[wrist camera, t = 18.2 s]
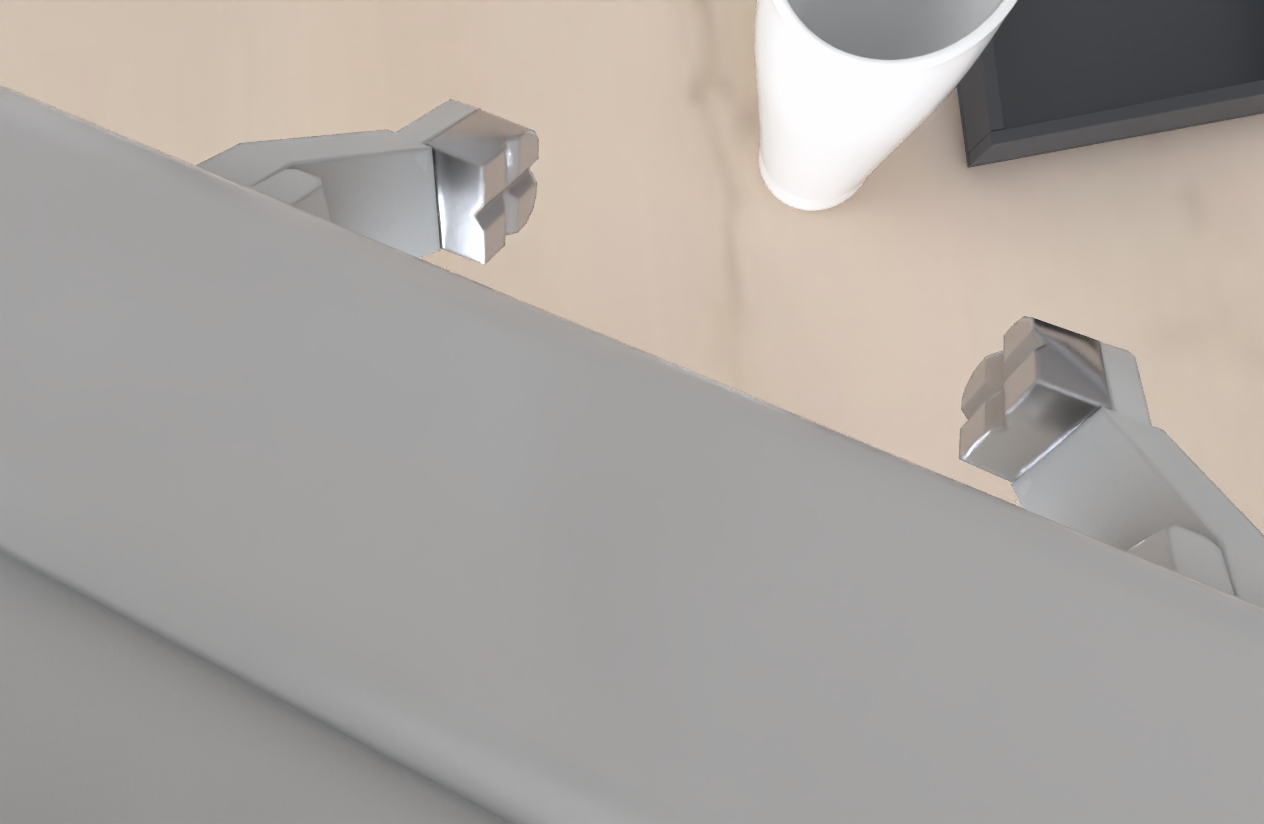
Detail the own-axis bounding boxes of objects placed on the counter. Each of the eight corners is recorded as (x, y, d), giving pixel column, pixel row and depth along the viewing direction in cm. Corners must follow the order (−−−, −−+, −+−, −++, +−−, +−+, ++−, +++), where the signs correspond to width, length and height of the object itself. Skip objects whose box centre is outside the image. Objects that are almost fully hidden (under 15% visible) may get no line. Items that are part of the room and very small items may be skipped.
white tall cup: (760, 78, 30) (796, -221, 16) (901, 100, 29) (1082, -196, 15) (728, 215, 31) (734, 51, 16) (866, 241, 30) (1008, 93, 15)
